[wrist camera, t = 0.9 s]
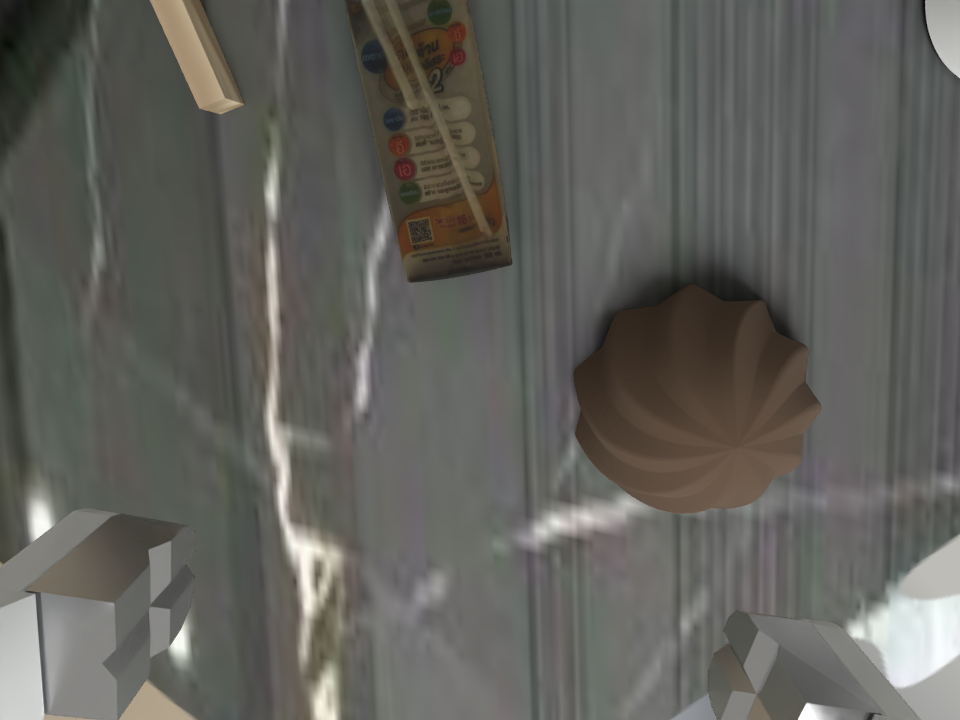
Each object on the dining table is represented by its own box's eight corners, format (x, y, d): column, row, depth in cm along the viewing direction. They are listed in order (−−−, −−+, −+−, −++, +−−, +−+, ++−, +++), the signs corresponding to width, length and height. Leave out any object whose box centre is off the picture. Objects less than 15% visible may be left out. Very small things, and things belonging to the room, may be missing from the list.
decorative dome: (617, 255, 42) (653, 275, 32) (844, 325, 43) (943, 364, 34) (539, 461, 48) (551, 530, 38) (742, 517, 49) (802, 597, 40)
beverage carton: (468, -17, 36) (463, -59, 30) (513, 259, 42) (517, 272, 36) (357, 8, 37) (329, -28, 31) (416, 276, 43) (403, 292, 37)
